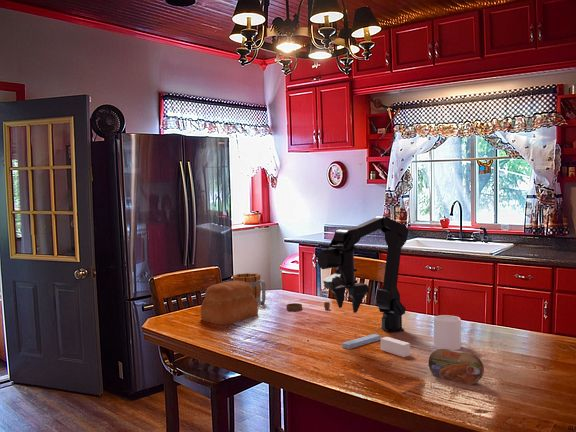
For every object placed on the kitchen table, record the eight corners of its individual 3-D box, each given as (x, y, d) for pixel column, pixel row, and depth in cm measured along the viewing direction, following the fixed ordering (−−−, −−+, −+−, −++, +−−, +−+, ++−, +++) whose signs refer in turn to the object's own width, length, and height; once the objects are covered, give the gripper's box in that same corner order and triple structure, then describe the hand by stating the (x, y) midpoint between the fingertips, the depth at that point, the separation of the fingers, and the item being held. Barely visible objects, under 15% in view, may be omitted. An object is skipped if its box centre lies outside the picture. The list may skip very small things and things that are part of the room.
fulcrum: (369, 355, 167) (369, 340, 167) (395, 348, 174) (395, 333, 174) (394, 364, 158) (394, 348, 158) (421, 356, 165) (420, 341, 165)
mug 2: (471, 347, 173) (470, 316, 173) (452, 355, 165) (452, 322, 165) (447, 342, 179) (447, 312, 179) (428, 350, 171) (428, 318, 171)
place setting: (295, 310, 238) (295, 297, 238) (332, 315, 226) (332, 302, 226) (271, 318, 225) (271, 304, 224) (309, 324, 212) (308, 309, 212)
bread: (262, 319, 221) (261, 280, 220) (226, 330, 204) (224, 288, 203) (233, 314, 232) (232, 276, 231) (196, 324, 215) (195, 284, 214)
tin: (428, 376, 147) (427, 347, 147) (432, 373, 150) (432, 344, 149) (481, 388, 138) (481, 357, 137) (485, 384, 140) (485, 354, 140)
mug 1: (227, 307, 247) (226, 275, 246) (248, 302, 256) (247, 272, 256) (254, 312, 233) (253, 279, 232) (276, 307, 242) (275, 276, 242)
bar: (374, 342, 183) (374, 333, 183) (380, 343, 181) (380, 335, 181) (342, 351, 173) (342, 342, 173) (348, 353, 171) (348, 344, 171)
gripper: (312, 265, 183) (314, 308, 184) (341, 271, 167) (343, 319, 168) (338, 261, 188) (340, 304, 189) (369, 267, 172) (370, 314, 173)
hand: (347, 310), depth 180 cm, fingers open, 9 cm apart
